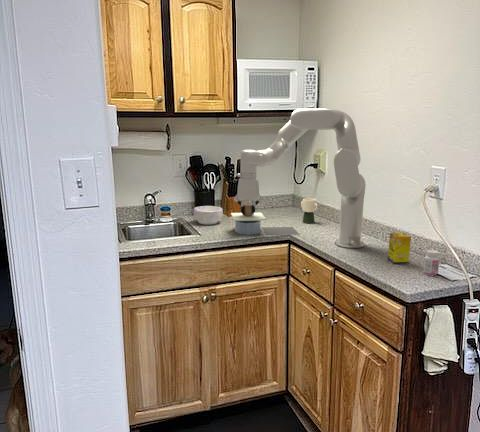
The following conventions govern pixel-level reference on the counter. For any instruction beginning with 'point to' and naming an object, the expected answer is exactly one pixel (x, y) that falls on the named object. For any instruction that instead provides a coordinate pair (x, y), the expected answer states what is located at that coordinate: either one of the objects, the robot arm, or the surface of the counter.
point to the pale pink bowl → (208, 214)
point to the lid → (248, 215)
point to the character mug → (309, 209)
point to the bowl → (247, 227)
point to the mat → (280, 231)
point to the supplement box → (399, 248)
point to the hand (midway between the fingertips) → (247, 213)
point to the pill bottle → (431, 262)
